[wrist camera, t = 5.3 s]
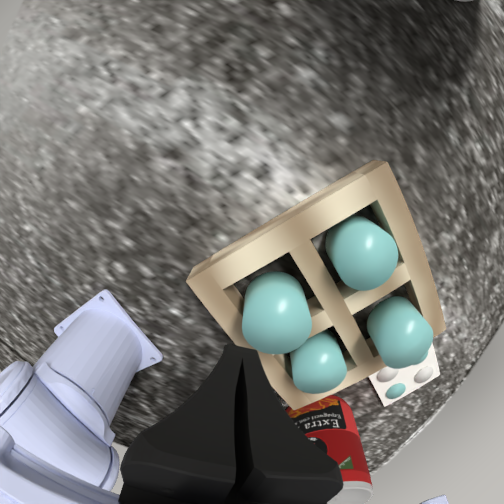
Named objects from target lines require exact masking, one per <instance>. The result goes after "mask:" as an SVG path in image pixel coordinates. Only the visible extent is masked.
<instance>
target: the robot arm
mask: <svg viewBox="0 0 504 504" xmlns="http://www.w3.org/2000/svg"><path fill="white" fill-rule="evenodd" d="M101 297H103V298H104V300H103V299H102V298H101ZM54 332H55V333H56V335H57V336H58V338H57V339H56V340H55V342H54V343H53V344H52V345H51V346H50V347H49V348H48V349H47V351H46V352H45V353H44V354H43V355H42V356H41V358H40V359H39V360H38V361H37V362H36V363H35V365H34V366H33V367H32V366H31V365H30V364H29V363H28V362H21V361H16V362H14V363H12V364H11V365H9V366H8V367H7V368H6V369H5V370H3V371H2V372H1V373H0V504H327V502H328V501H330V500H331V499H332V498H333V497H335V496H336V495H337V494H338V493H339V492H340V491H341V490H342V489H343V486H344V484H343V479H342V474H341V471H340V468H339V465H338V462H336V461H335V460H334V459H332V458H331V457H330V456H328V455H327V454H326V453H325V452H323V451H322V450H321V449H319V448H318V447H317V446H316V445H315V444H314V443H313V442H312V441H311V440H310V439H309V438H308V437H307V436H306V435H305V434H304V433H303V432H302V431H301V430H300V429H299V428H298V426H297V425H296V424H295V423H294V422H293V420H292V419H291V418H290V416H289V415H288V413H287V412H286V411H285V409H284V408H283V406H282V404H281V403H280V401H279V399H278V398H277V396H276V394H275V392H274V390H273V388H272V387H271V384H270V382H269V380H268V378H267V376H266V373H265V371H264V368H263V366H262V363H261V360H260V357H259V354H258V352H257V350H255V349H250V348H245V347H241V346H236V345H232V344H227V345H225V347H224V351H223V354H222V356H221V358H220V360H219V361H218V363H217V365H216V366H215V368H214V369H213V371H212V372H211V374H210V375H209V376H208V378H207V379H206V380H205V381H204V383H203V384H202V385H201V386H200V388H199V389H198V390H197V391H196V392H195V393H194V394H193V395H192V396H191V397H190V398H189V399H188V400H187V401H186V402H185V403H183V404H182V405H181V406H180V407H179V408H178V409H176V410H175V411H174V412H172V413H171V414H170V415H168V416H167V417H165V418H164V419H163V420H161V421H160V422H158V423H156V424H155V425H153V426H151V427H149V428H147V429H146V430H144V431H142V432H141V433H140V434H139V435H138V436H137V437H136V438H135V440H134V441H133V442H132V443H131V445H130V446H129V448H128V449H127V451H126V453H125V455H124V458H123V461H122V463H121V468H120V470H121V474H122V478H123V482H124V484H123V487H122V490H121V494H120V495H118V494H115V493H112V492H110V491H111V490H112V488H113V487H114V485H115V483H116V480H117V477H118V473H119V456H118V453H117V451H116V450H115V449H114V448H113V447H112V446H111V444H112V442H113V439H114V437H115V433H113V432H112V430H111V429H110V428H109V426H110V424H111V422H112V420H113V418H114V416H115V414H116V411H117V409H118V407H119V405H120V403H121V401H122V399H123V397H124V395H125V393H126V391H127V389H128V387H129V384H130V382H131V380H132V378H133V376H134V374H135V372H138V371H140V370H142V369H144V368H147V367H149V366H151V365H153V364H156V363H158V362H160V361H161V360H162V358H163V355H162V353H161V352H160V351H159V350H158V349H157V348H156V347H155V346H154V344H153V343H152V342H151V341H150V340H149V339H148V338H147V337H146V335H145V334H144V333H143V332H142V331H141V330H140V328H139V327H138V326H137V325H136V324H135V323H134V321H133V320H132V319H131V318H130V317H129V315H128V314H127V313H126V312H125V310H124V309H123V308H122V307H121V305H120V304H119V303H118V302H117V300H116V299H115V298H114V297H113V295H112V294H111V293H110V292H109V291H108V290H103V291H101V292H100V293H98V294H97V295H96V296H94V297H93V298H92V299H90V300H89V301H88V302H87V303H85V304H84V305H83V306H81V307H80V308H79V309H77V310H76V311H75V312H73V313H72V314H71V315H70V316H68V317H67V318H66V319H64V320H63V321H62V322H61V323H59V324H58V325H57V326H56V327H55V328H54ZM152 357H153V358H155V359H153V358H152ZM420 504H449V503H448V500H447V498H446V495H441V496H438V497H435V498H432V499H428V500H426V501H424V502H422V503H420Z"/></svg>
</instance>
